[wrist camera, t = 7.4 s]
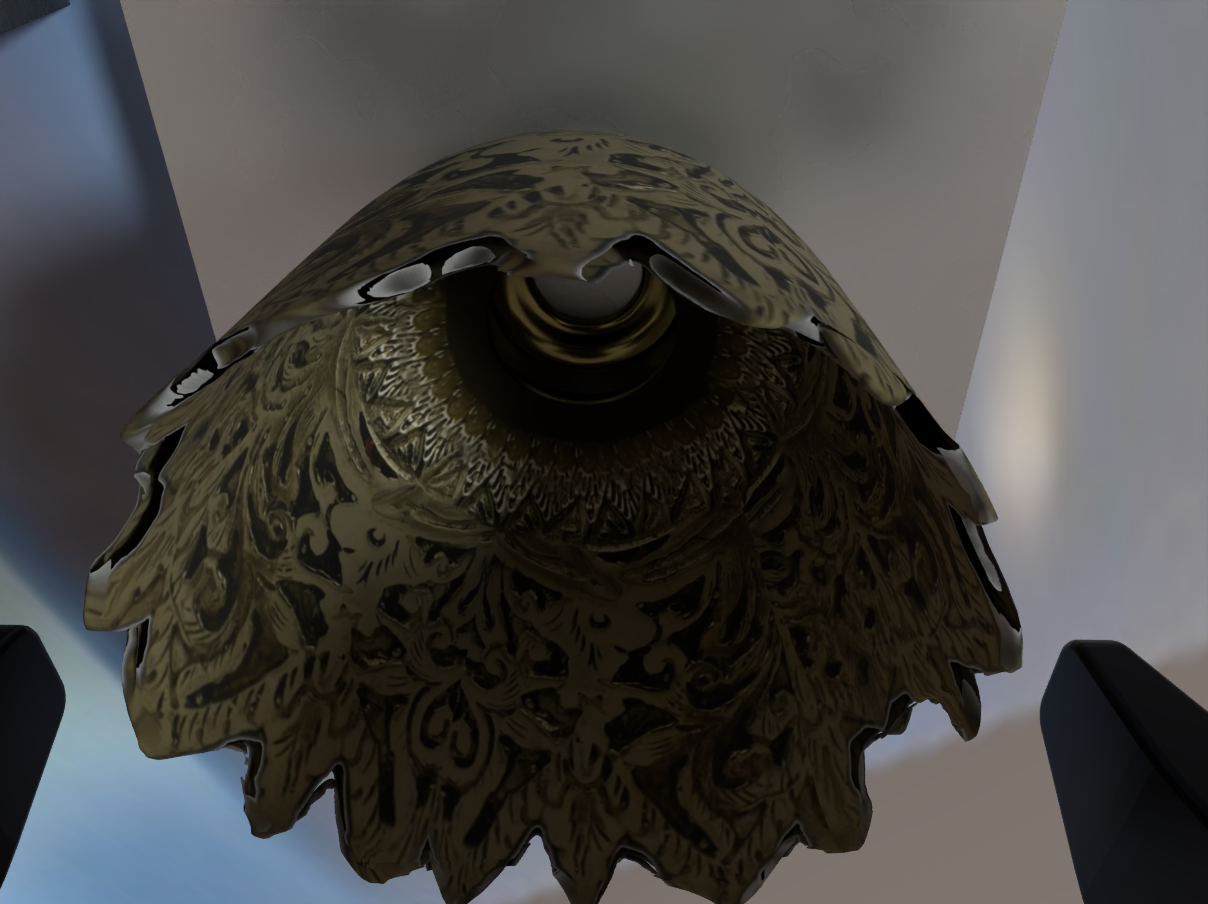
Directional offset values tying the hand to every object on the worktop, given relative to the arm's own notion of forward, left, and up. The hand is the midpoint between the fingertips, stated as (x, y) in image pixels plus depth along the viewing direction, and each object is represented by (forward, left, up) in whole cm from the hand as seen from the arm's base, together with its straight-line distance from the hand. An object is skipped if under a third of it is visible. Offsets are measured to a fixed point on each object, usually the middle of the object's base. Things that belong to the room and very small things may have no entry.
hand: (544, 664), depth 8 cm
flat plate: (0, 0, -9) cm, 9 cm away
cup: (0, 0, -8) cm, 8 cm away
